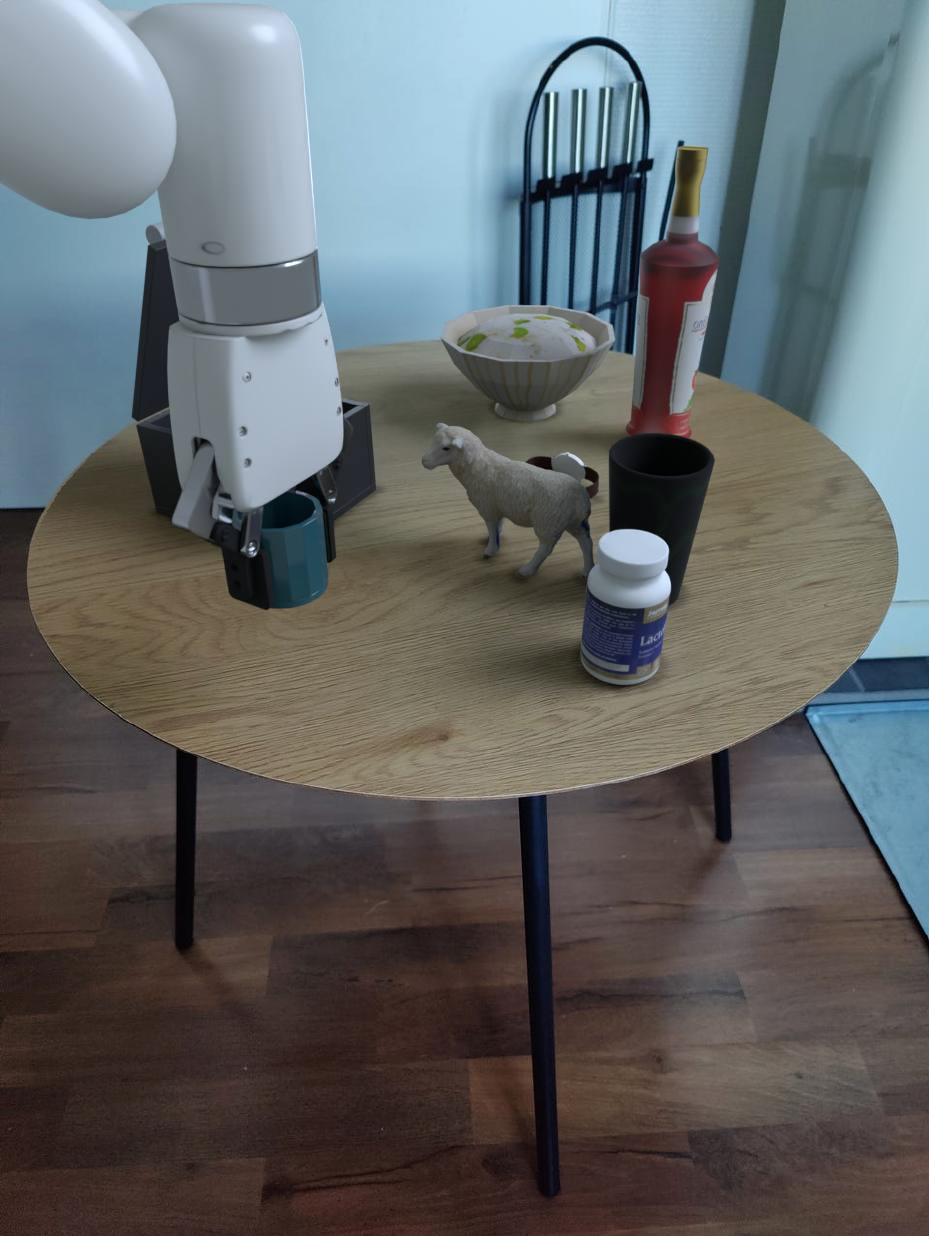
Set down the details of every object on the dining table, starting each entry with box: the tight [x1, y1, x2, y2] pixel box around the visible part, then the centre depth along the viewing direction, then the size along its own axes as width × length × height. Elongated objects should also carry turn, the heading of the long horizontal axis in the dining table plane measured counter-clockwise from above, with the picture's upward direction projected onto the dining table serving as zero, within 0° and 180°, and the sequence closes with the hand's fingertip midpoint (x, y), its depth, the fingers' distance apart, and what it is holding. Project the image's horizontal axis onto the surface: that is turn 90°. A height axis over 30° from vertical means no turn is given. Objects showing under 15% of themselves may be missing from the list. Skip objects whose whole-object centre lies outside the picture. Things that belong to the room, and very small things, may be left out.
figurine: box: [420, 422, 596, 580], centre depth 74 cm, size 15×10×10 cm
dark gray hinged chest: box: [135, 397, 377, 521], centre depth 84 cm, size 16×14×9 cm
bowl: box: [439, 304, 616, 422], centre depth 101 cm, size 19×19×10 cm
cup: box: [608, 433, 716, 607], centre depth 70 cm, size 8×8×12 cm
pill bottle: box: [579, 529, 671, 686], centre depth 63 cm, size 6×6×10 cm
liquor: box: [624, 145, 721, 439], centre depth 88 cm, size 7×7×28 cm
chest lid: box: [131, 221, 180, 423], centre depth 79 cm, size 16×14×5 cm
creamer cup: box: [232, 489, 329, 610], centre depth 57 cm, size 5×6×6 cm
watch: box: [524, 451, 600, 500], centre depth 86 cm, size 8×5×4 cm, turn 57°
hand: (284, 575), depth 58 cm, fingers closed on creamer cup, 5 cm apart
